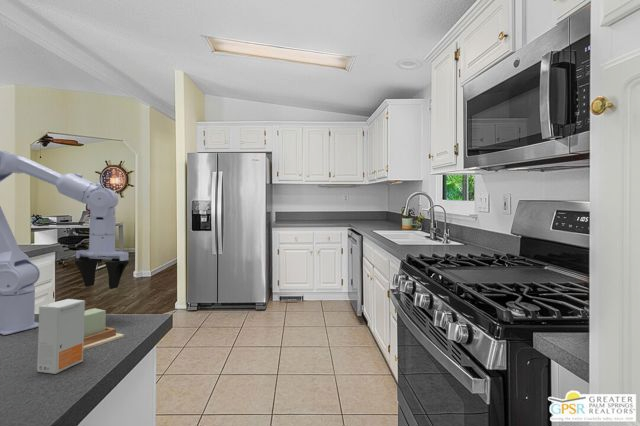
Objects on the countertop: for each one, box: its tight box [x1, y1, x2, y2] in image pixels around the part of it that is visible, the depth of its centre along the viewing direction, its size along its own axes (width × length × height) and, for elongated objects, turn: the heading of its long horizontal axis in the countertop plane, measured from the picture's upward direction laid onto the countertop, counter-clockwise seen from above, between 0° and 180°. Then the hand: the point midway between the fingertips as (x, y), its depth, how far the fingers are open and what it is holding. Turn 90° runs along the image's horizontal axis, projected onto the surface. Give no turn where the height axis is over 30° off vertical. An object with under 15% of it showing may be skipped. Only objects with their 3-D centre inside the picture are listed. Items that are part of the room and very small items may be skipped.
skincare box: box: [36, 298, 86, 375], centre depth 67 cm, size 6×4×12 cm
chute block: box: [84, 307, 107, 337], centre depth 80 cm, size 4×6×6 cm, turn 155°
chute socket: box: [83, 326, 125, 352], centre depth 80 cm, size 10×12×2 cm
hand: (101, 287), depth 93 cm, fingers open, 7 cm apart
